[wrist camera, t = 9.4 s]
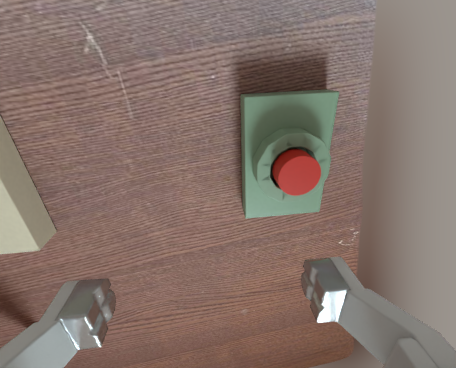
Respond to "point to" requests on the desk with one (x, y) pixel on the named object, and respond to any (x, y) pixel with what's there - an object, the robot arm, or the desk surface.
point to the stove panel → (20, 203)
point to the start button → (296, 172)
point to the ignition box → (283, 146)
